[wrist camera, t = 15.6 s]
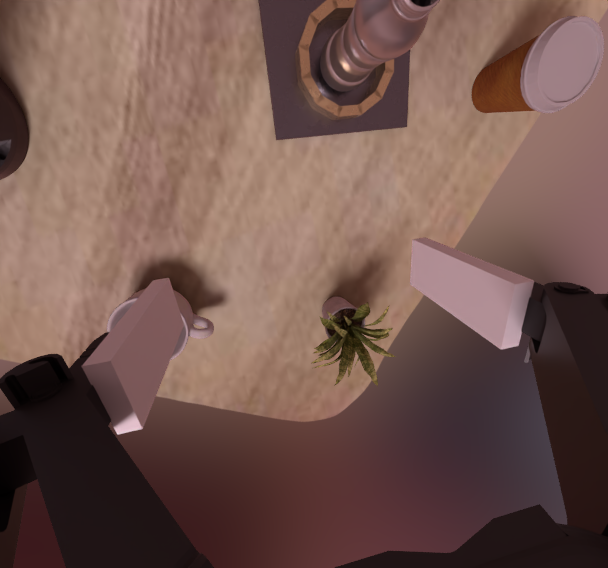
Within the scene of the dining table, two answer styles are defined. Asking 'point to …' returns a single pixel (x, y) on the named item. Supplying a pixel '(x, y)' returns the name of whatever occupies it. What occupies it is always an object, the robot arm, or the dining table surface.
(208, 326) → the teacup
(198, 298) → the dining table surface
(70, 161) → the dining table surface
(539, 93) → the disposable coffee cup
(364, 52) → the plastic bottle
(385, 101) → the collar stand
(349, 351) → the house plant
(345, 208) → the dining table surface
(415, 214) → the dining table surface
